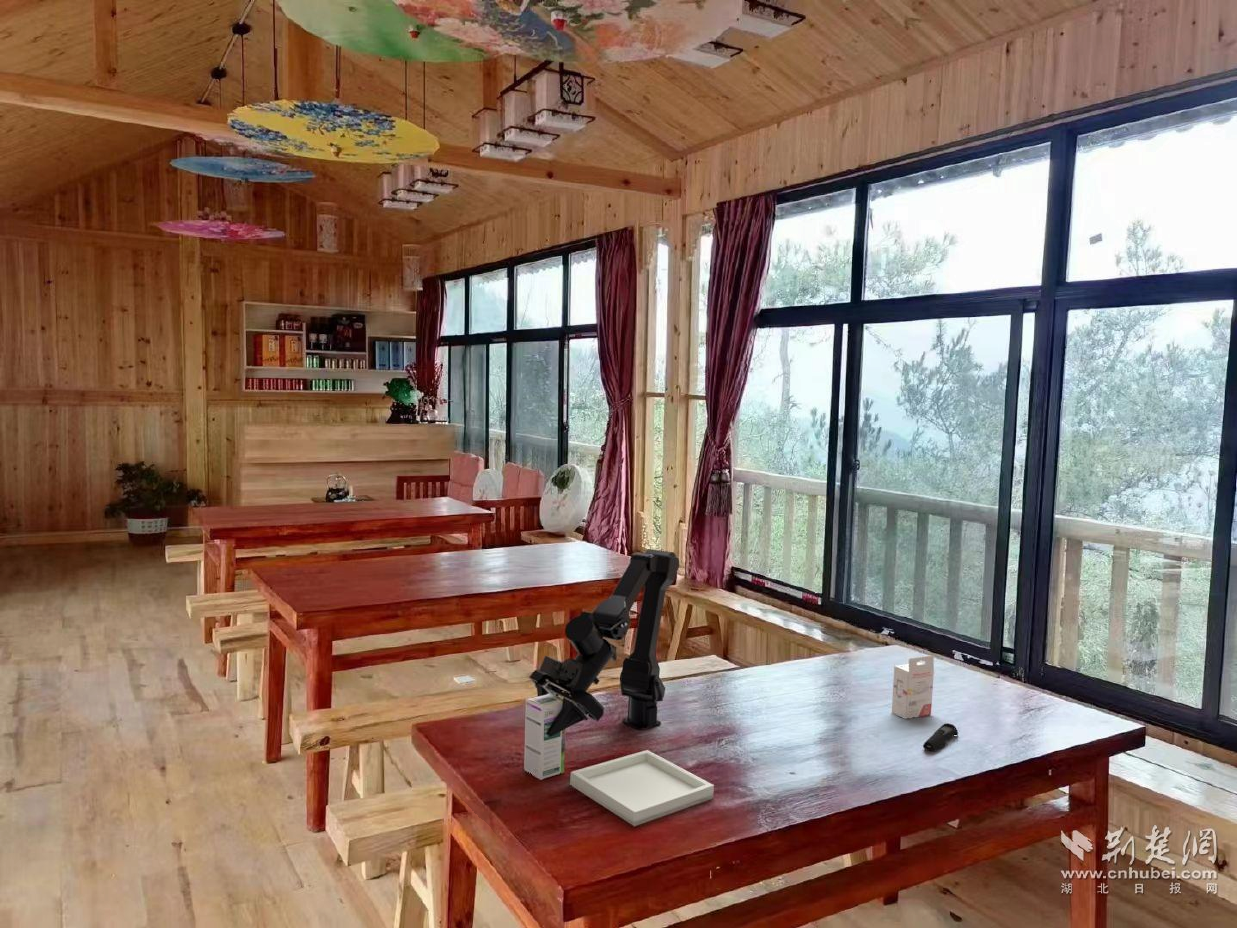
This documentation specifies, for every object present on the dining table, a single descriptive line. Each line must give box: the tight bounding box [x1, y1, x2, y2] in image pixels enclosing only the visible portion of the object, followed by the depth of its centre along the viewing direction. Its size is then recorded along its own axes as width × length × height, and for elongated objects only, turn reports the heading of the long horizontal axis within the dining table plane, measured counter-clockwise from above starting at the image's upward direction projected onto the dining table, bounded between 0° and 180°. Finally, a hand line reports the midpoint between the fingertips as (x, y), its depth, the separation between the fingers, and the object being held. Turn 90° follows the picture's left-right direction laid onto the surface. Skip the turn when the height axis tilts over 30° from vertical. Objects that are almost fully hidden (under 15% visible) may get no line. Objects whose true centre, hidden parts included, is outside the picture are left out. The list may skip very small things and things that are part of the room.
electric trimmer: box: [922, 723, 959, 752], centre depth 194 cm, size 4×16×3 cm, turn 141°
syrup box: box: [523, 693, 566, 781], centre depth 170 cm, size 6×6×14 cm
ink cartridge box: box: [891, 655, 935, 720], centre depth 211 cm, size 9×5×15 cm, turn 117°
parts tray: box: [569, 749, 715, 827], centre depth 163 cm, size 19×19×2 cm
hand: (539, 730), depth 169 cm, fingers closed on syrup box, 6 cm apart
